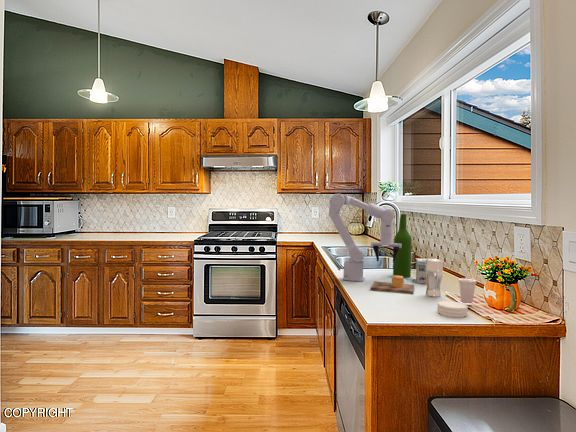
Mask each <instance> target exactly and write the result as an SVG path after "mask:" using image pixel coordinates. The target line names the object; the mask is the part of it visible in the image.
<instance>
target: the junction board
mask: <svg viewBox="0 0 576 432" xmlns="http://www.w3.org/2000/svg"><path fill="white" fill-rule="evenodd" d="M369 289H370V291H374V292H375V291H378V292H385V293H386V292H387V293H397V294H399V293H400V294H409V295H410V294H411V295H414V292H415V291H414V290H415V284H411V283H403V287H402V288H397V287H392V282H386V281H374V282H373V283H372V284H371V286H370V288H369Z"/></svg>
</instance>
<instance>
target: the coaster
mask: <svg viewBox="0 0 576 432" xmlns="http://www.w3.org/2000/svg"><path fill="white" fill-rule="evenodd" d="M436 306H437V308H436V309H437V310H436V312H437V313H438V314H439V313H440V314H439V315H441V314H442V315H441V316H444V315H446V316H445V317H448V316H452V317H451V318H465V317H464V316H466V317H467V316H468V315H469V313H468V312H469V311H468V308H469V306H467V305H465V304H463V303H461V302H458V301H453V300H452V301H451V300H442V301H439V302H437V305H436Z"/></svg>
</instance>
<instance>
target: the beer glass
mask: <svg viewBox="0 0 576 432" xmlns="http://www.w3.org/2000/svg"><path fill="white" fill-rule="evenodd" d="M425 259H426V266H425V274H426V282H427V283H426V290H425V296H427V297H430V298H431V297H433V298H439V297H441V296H442V294H441V283H442V279H443V274H444V263H443V260H442V259H438V258H425Z"/></svg>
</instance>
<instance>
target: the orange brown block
mask: <svg viewBox="0 0 576 432" xmlns="http://www.w3.org/2000/svg"><path fill="white" fill-rule="evenodd" d="M391 283H392V287H397V288H402V287H403V284H404V278H403V276H398V275H394V276H393V275H392V277H391Z"/></svg>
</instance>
